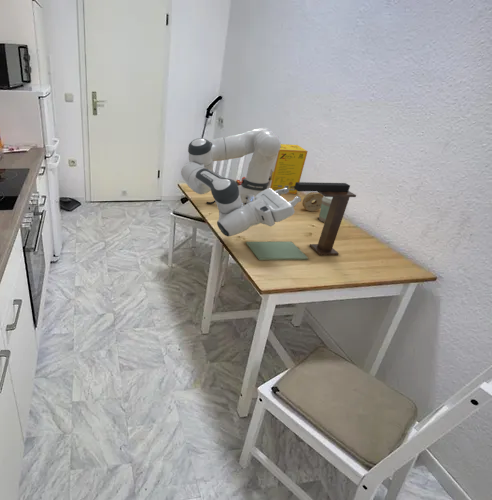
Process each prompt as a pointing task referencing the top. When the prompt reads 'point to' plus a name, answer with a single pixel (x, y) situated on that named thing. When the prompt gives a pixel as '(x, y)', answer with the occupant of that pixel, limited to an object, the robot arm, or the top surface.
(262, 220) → the robot arm
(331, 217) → the shelf stand
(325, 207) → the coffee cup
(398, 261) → the top surface
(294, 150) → the packaging box
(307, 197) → the stone disc
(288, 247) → the base pad
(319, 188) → the black bar
